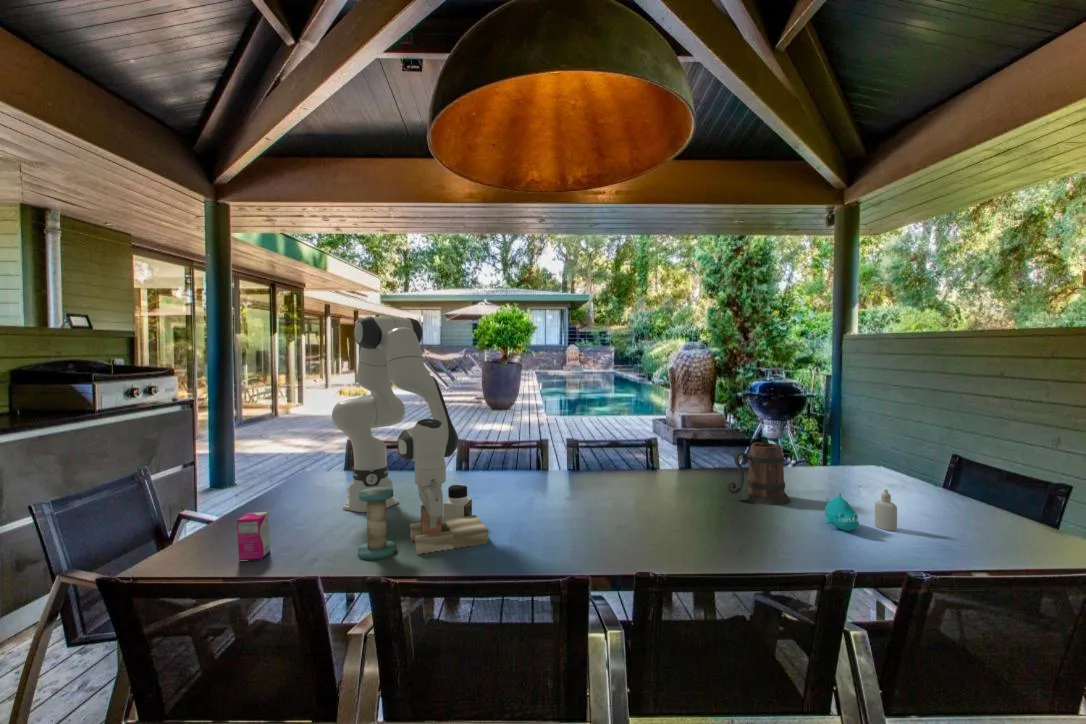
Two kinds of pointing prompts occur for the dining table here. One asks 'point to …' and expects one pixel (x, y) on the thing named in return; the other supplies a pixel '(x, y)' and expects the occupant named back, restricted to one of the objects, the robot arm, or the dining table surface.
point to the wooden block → (425, 523)
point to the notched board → (450, 535)
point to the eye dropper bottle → (886, 513)
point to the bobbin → (376, 524)
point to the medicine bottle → (457, 502)
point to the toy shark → (841, 514)
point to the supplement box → (253, 536)
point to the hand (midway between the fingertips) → (431, 523)
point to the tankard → (762, 475)
